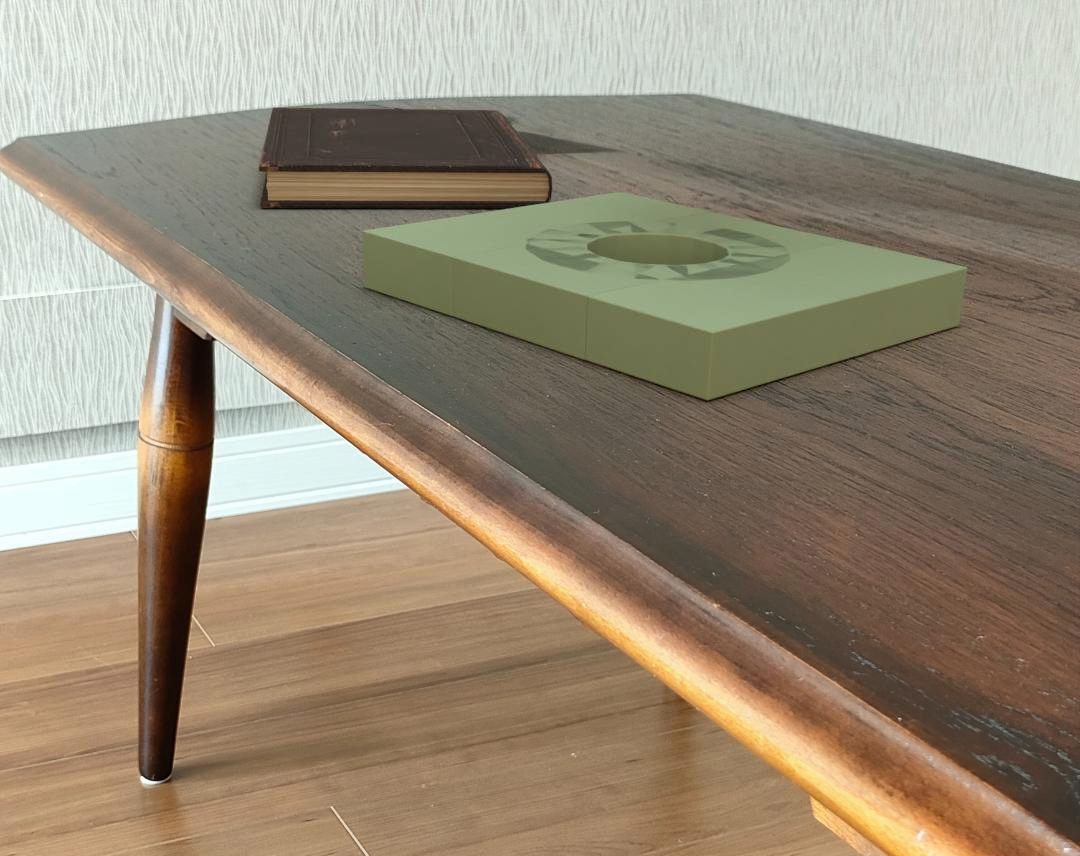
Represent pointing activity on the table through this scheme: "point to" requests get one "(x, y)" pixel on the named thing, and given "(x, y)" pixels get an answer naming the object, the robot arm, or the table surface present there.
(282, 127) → the hardcover book
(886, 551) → the table surface
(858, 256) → the socket pad
